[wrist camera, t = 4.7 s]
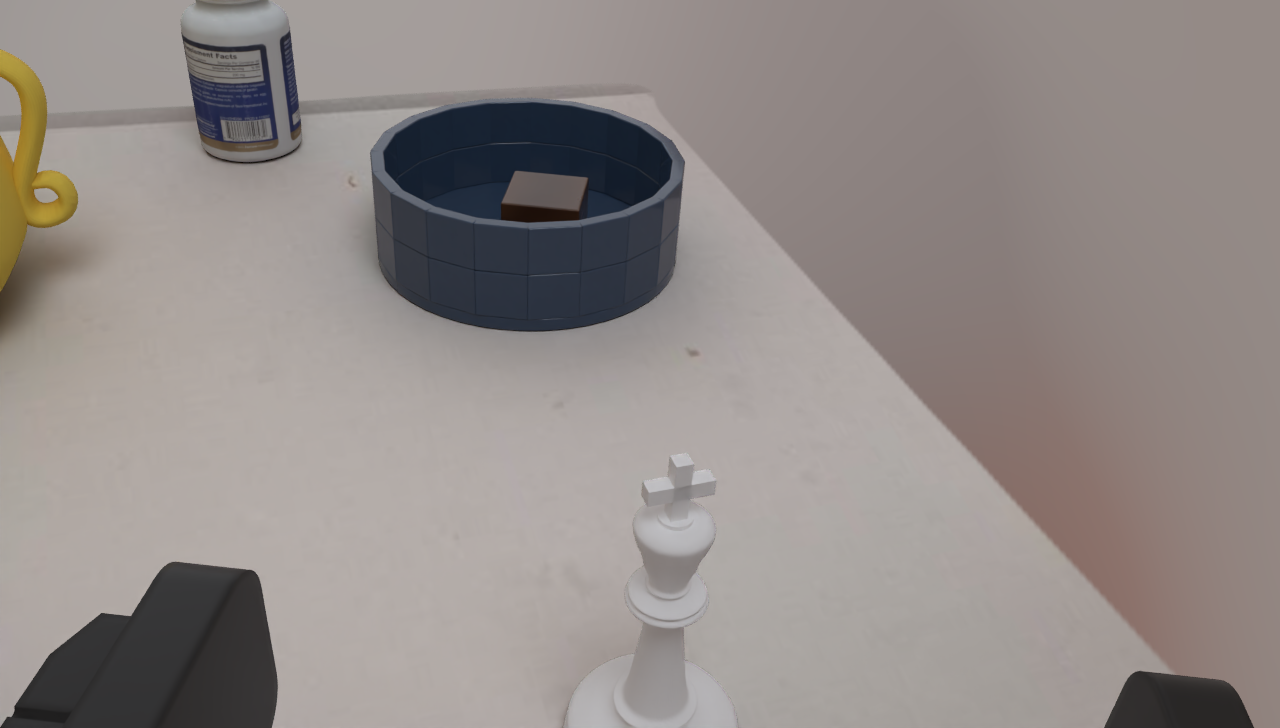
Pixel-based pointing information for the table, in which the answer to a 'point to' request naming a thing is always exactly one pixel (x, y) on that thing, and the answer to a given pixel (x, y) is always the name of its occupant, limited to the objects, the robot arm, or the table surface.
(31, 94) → the teapot
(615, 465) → the table surface
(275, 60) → the pill bottle
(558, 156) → the bowl
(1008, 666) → the table surface
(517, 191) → the block
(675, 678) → the chess piece
